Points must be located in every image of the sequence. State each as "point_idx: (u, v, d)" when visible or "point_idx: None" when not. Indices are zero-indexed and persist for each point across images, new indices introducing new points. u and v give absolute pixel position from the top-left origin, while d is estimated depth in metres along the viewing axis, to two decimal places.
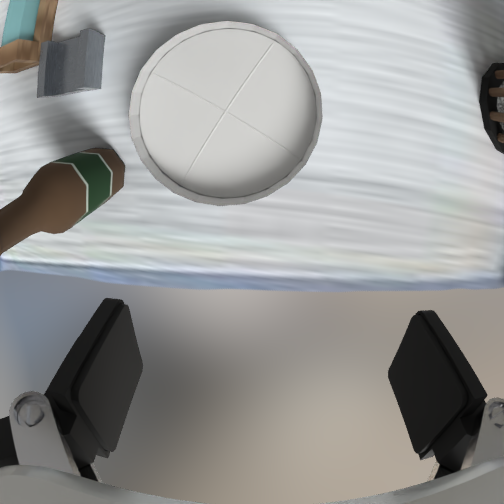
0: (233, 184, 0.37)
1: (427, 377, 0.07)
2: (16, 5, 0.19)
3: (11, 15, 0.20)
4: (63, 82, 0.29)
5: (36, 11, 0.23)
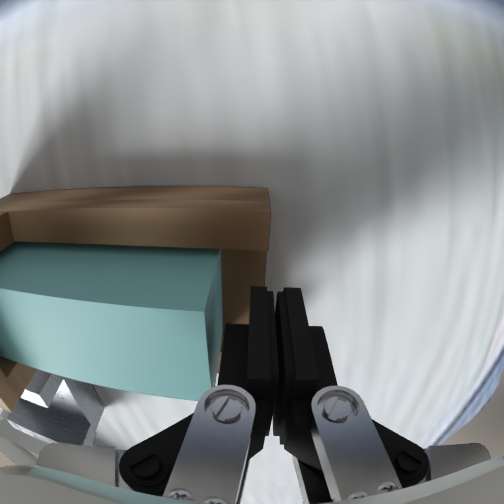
0: None
1: (278, 354, 0.08)
2: (94, 351, 0.09)
3: (53, 326, 0.08)
4: None
5: None
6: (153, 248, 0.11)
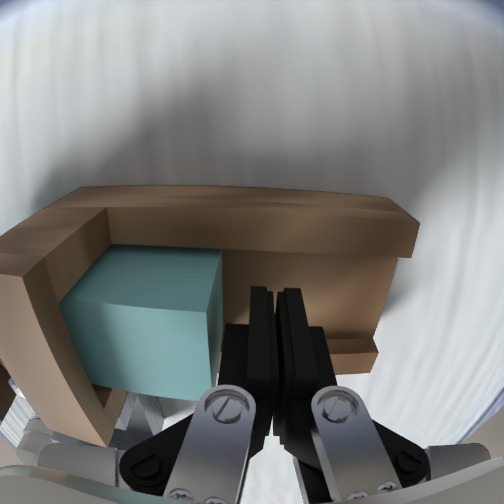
0: None
1: (277, 354, 0.08)
2: (94, 351, 0.09)
3: None
4: None
5: None
6: (154, 248, 0.11)
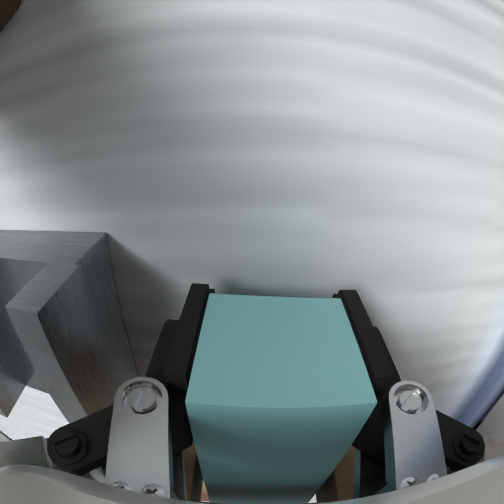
0: None
1: None
2: None
3: (281, 497, 0.08)
4: None
5: None
6: None
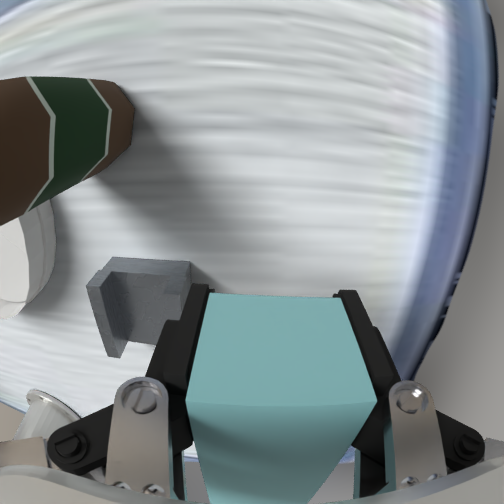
0: None
1: None
2: None
3: (281, 496, 0.08)
4: (155, 291, 0.24)
5: None
6: None
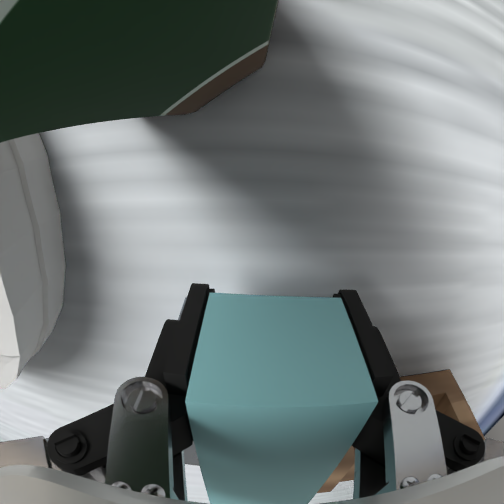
0: None
1: None
2: None
3: (281, 497, 0.08)
4: None
5: None
6: None
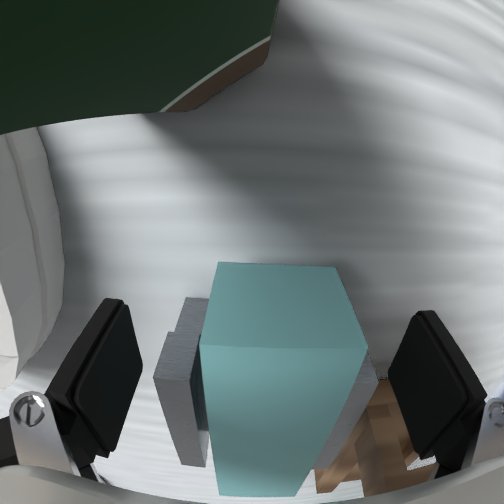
0: None
1: (427, 377, 0.07)
2: (260, 474, 0.10)
3: (284, 463, 0.10)
4: None
5: None
6: None
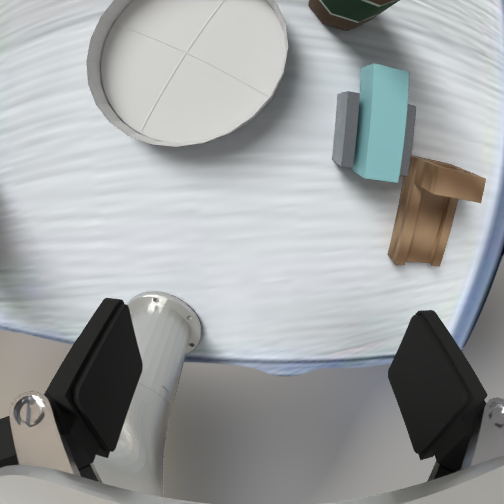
0: None
1: (427, 377, 0.07)
2: (385, 143, 0.27)
3: (394, 131, 0.26)
4: None
5: (359, 126, 0.29)
6: None
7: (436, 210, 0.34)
